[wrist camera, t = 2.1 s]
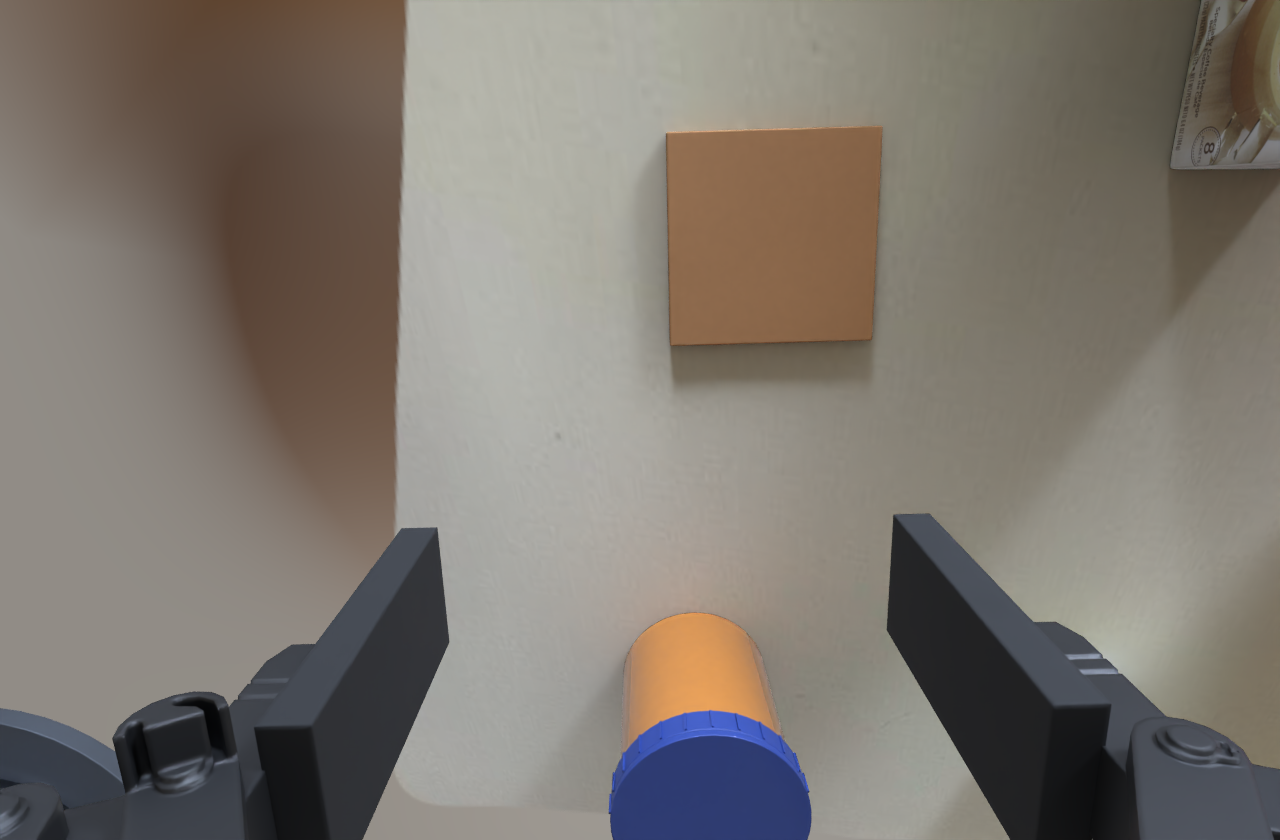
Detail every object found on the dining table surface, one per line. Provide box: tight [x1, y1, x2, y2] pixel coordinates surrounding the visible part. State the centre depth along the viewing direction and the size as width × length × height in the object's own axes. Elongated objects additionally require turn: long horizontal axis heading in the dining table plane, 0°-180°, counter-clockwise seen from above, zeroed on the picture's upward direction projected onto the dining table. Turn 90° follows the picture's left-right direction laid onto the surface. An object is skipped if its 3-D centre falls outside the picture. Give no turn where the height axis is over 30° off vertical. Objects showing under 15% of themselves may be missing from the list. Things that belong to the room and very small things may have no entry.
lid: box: [609, 710, 811, 840], centre depth 34 cm, size 9×9×2 cm
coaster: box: [666, 126, 883, 346], centre depth 38 cm, size 10×10×1 cm
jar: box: [620, 613, 786, 760], centre depth 39 cm, size 8×8×10 cm
